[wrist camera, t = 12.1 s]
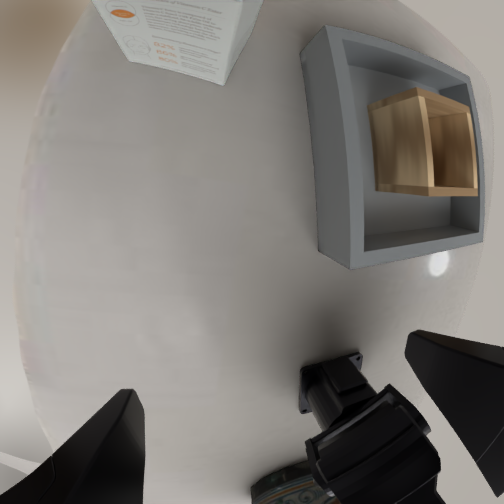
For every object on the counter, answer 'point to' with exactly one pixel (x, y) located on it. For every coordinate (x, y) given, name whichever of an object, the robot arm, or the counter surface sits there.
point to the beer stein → (290, 488)
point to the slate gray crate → (361, 155)
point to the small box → (182, 33)
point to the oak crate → (423, 145)
